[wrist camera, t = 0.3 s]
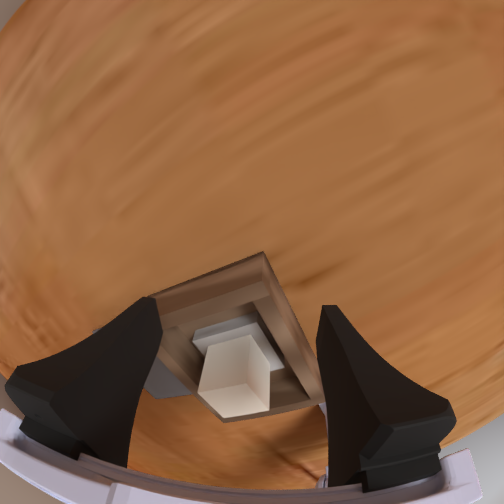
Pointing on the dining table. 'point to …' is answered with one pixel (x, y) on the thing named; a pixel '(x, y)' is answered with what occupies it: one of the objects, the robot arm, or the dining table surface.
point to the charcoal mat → (162, 381)
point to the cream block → (236, 378)
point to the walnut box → (239, 331)
